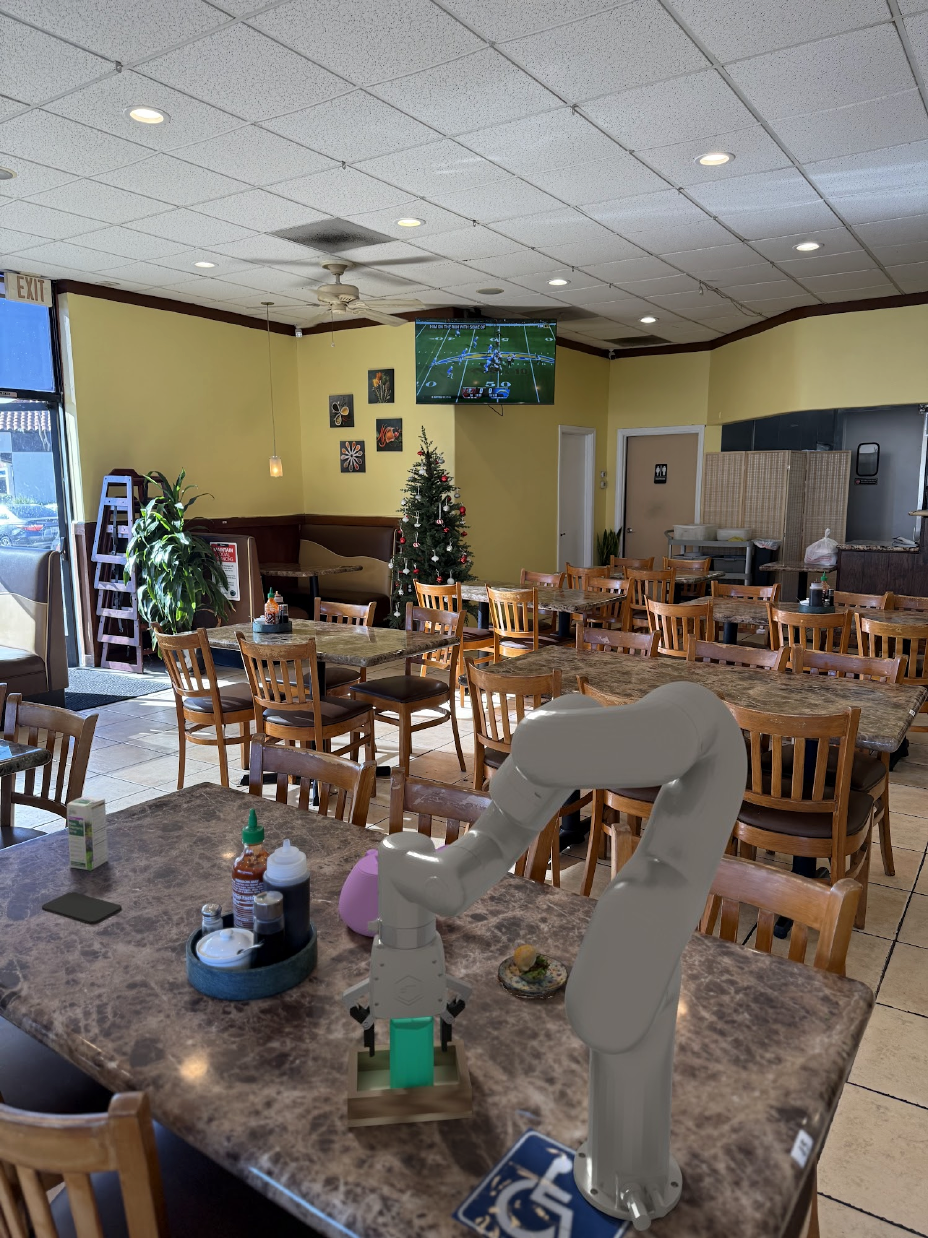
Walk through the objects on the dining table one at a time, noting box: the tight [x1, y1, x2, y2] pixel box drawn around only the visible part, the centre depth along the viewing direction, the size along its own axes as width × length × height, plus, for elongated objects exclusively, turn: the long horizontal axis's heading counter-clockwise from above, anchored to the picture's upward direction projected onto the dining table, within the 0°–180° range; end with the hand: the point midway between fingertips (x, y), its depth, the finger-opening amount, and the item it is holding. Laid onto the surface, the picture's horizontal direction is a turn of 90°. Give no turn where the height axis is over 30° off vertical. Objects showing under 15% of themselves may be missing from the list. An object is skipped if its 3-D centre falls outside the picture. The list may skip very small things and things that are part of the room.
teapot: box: [338, 844, 450, 938], centre depth 162 cm, size 22×22×14 cm
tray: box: [346, 1038, 473, 1128], centre depth 115 cm, size 16×11×4 cm
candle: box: [389, 1016, 435, 1089], centre depth 114 cm, size 6×6×12 cm
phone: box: [41, 891, 123, 925], centre depth 167 cm, size 7×1×15 cm
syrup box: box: [66, 796, 109, 872], centre depth 186 cm, size 6×6×14 cm
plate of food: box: [496, 941, 569, 999], centre depth 142 cm, size 12×12×8 cm
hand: (407, 1048), depth 114 cm, fingers open, 9 cm apart
